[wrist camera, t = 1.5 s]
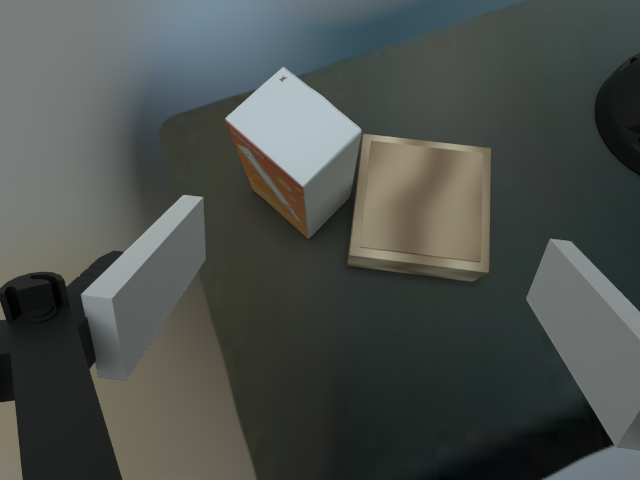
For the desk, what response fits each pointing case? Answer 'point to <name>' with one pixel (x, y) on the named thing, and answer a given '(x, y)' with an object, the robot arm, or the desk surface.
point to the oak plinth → (421, 208)
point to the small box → (296, 150)
